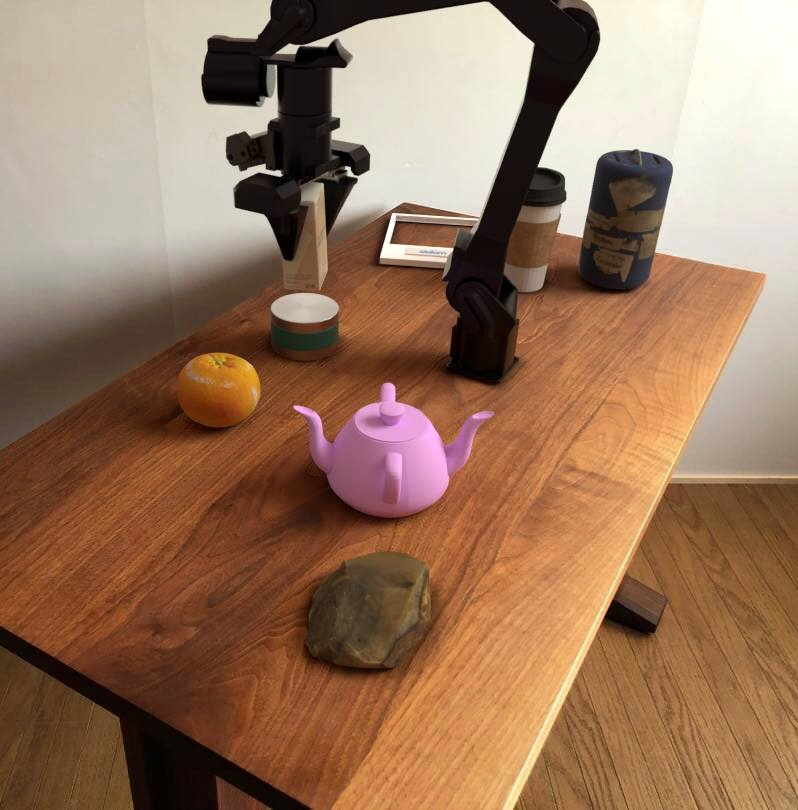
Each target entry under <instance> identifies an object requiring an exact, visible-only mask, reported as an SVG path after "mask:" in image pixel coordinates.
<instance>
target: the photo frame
mask: <svg viewBox="0 0 798 810" xmlns="http://www.w3.org/2000/svg"><path fill="white" fill-rule="evenodd" d="M478 219H479V218H470V217H455V216H441V215H439V216H438V215H424V214H410V213H397V212H396V213H395V212H394V213H393V212H392V213H391V217H390V221H389V224H388V228H387V231H386V235H385V239H384V242H383V244H382V248H381V252H380V256H379V264H380V265H391V266H392V265H393V266H405V267H406V266H407V267H418V268H419V267H420V268H431V269H432V268H433V269H434V268H435V269H443V270H444V269H445V265H446V261H447V257H448V255H449V254H450V253H451V252H452V251H453V248H454V247H439V246H427V245H425V246H424V245H414V244H413V245H411V244H397V243H396V244H395V243H391V241H392V237H393V232H394V229H395V225H396V221H397V222H409V223H410V222H412V223H424V224H425V223H426V224H439V225H440V224H442V225H456V226H471V227H474V225H475V224H476V222H477V221H478Z"/></svg>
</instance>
